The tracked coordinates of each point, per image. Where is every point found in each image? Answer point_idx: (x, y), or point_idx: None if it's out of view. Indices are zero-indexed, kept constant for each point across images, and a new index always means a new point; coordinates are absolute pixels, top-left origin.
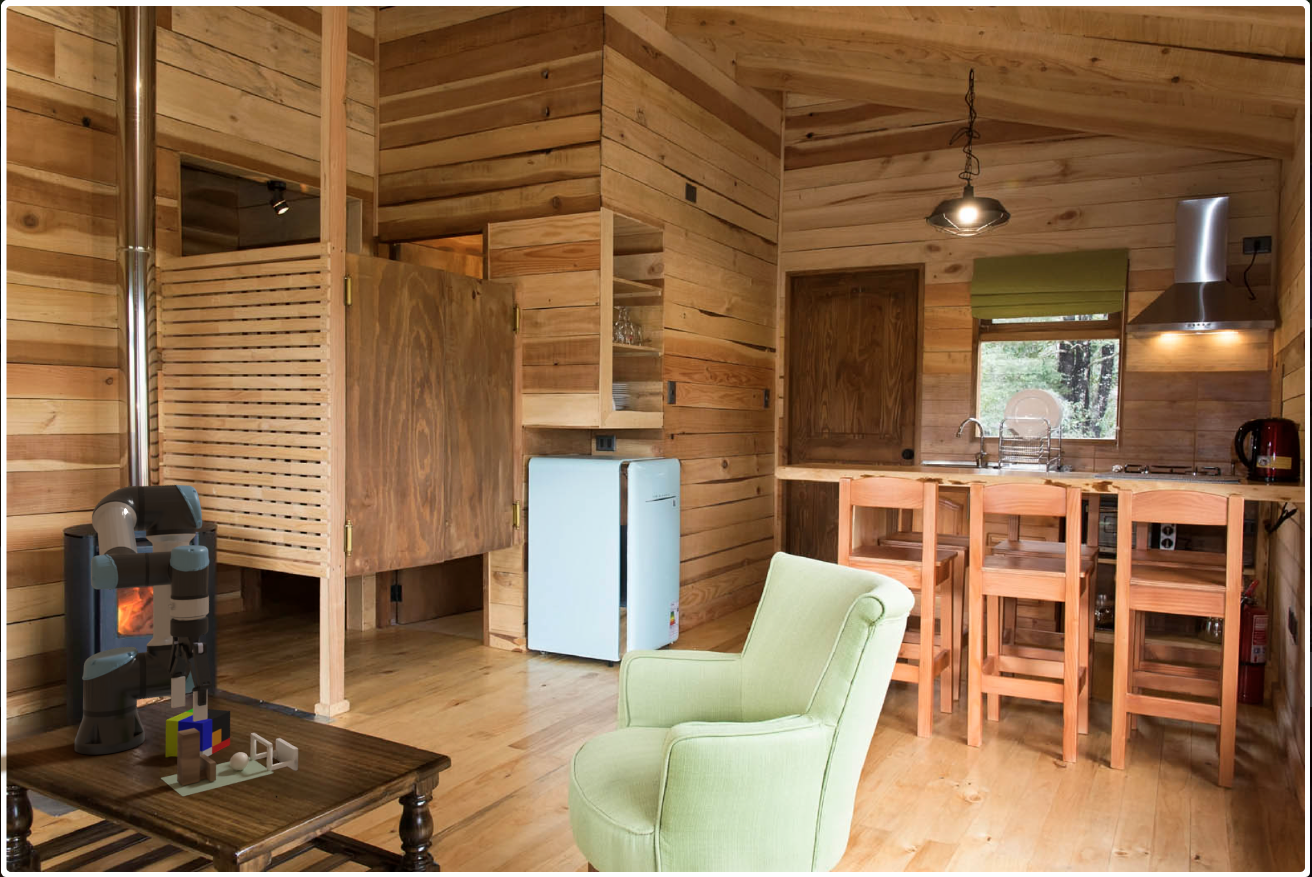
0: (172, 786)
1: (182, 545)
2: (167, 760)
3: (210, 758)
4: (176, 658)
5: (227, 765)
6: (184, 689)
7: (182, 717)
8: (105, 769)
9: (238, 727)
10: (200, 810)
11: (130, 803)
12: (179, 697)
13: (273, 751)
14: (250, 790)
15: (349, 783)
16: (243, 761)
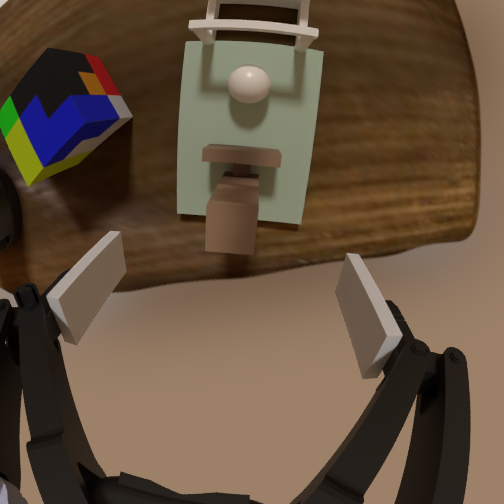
0: None
1: None
2: None
3: (243, 151)
4: (104, 473)
5: (202, 91)
6: (89, 267)
7: (28, 152)
8: (67, 242)
9: (22, 35)
10: (350, 213)
11: (230, 270)
12: (107, 268)
13: (216, 2)
14: (338, 111)
15: (427, 13)
16: (270, 83)
